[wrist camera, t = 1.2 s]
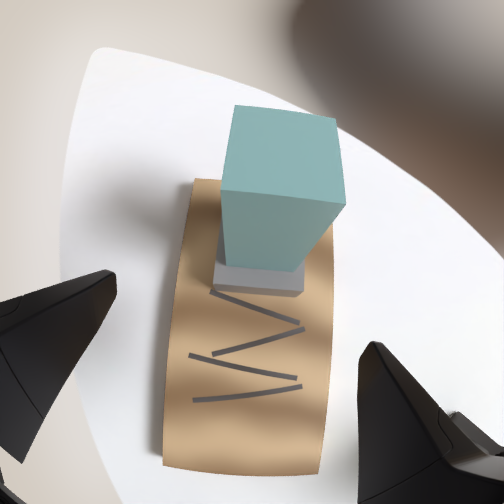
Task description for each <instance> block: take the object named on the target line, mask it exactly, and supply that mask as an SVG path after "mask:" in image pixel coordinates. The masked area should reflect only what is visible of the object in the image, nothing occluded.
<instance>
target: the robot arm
mask: <svg viewBox="0 0 504 504" xmlns="http://www.w3.org/2000/svg"><path fill="white" fill-rule="evenodd" d="M116 295H117V284H116V274H115V273H114V272H112V271H109V270H101V271H98V272H95V273H91V274H88V275H85V276H81V277H78V278H75V279H72V280H69V281H65V282H62V283H59V284H56V285H53V286H50V287H47V288H43V289H40V290H37V291H34V292H31V293H28V294H25V295H24V296H19V297H16V298H13V299H10V300H6V301H3V302H0V446H1V447H2V448H3V449H4V450H5V451H7V452H8V453H9V454H10V455H11V456H13V457H14V458H15V459H16V460H17V461H19V462H20V463H21V464H22V463H23V461H24V459H25V457H26V455H27V453H28V451H29V449H30V447H31V445H32V443H33V441H34V439H35V436H36V435H37V433H38V431H39V429H40V427H41V425H42V423H43V421H44V419H45V417H46V415H47V413H48V412H49V410H50V408H51V406H52V404H53V403H54V401H55V399H56V397H57V396H58V394H59V392H60V390H61V389H62V387H63V385H64V383H65V382H66V380H67V379H68V377H69V375H70V374H71V372H72V370H73V369H74V367H75V365H76V364H77V362H78V361H79V359H80V357H81V356H82V354H83V353H84V351H85V350H86V348H87V347H88V345H89V344H90V342H91V341H92V339H93V337H94V336H95V334H96V333H97V331H98V330H99V328H100V326H101V324H102V322H103V320H104V318H105V317H106V315H107V313H108V311H109V309H110V307H111V305H112V304H113V302H114V300H115V298H116ZM357 409H358V436H359V476H358V501H357V504H504V457H499V456H492V455H489V454H487V453H485V452H483V451H482V450H481V449H480V448H479V447H478V446H477V445H476V444H475V443H474V442H473V441H472V440H471V439H470V438H469V437H468V436H467V435H466V434H465V433H464V432H463V431H462V430H461V429H460V428H459V427H458V426H457V425H456V424H455V423H454V422H453V421H452V420H451V419H450V418H449V417H448V415H447V414H446V413H445V412H444V411H443V410H442V409H441V407H439V405H438V404H437V403H436V402H435V401H434V399H433V398H432V397H431V396H430V395H429V394H428V393H427V392H426V390H425V389H424V388H423V387H422V386H421V385H420V384H419V383H418V382H417V380H416V379H415V378H414V377H413V376H412V375H411V374H410V373H409V372H408V370H407V369H406V368H405V367H404V366H403V365H402V364H401V363H400V362H399V361H398V360H397V358H396V357H395V356H394V355H393V354H392V353H391V352H390V351H389V350H388V349H387V348H386V347H385V346H384V344H383V343H381V342H376V341H371V342H370V343H369V344H368V346H367V347H366V349H365V350H364V352H363V353H362V355H361V356H360V359H359V363H358V390H357ZM0 504H26V503H25V502H24V501H22V500H21V499H20V498H19V497H17V496H16V495H15V494H14V493H12V492H11V491H10V490H9V489H8V488H7V487H6V486H4V480H3V476H2V473H1V469H0Z"/></svg>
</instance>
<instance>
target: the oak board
mask: <svg viewBox="0 0 504 504" xmlns="http://www.w3.org/2000/svg"><path fill="white" fill-rule="evenodd" d="M221 182H222V180H213V179H198V178H195V180H194V185H193V190H192V194H191V199H190V205H189V210H188V215H187V220H186V226H185V231H184V237H183V243H182V249H181V255H180V261H179V268H178V274H177V281H176V288H175V296H174V303H173V311H172V320H171V329H170V338H169V348H168V359H167V371H166V384H165V400H164V421H163V466H168V467H173V468H179V469H185V470H191V471H198V472H206V473H215V474H226V475H241V476H297V475H312V474H318V470H319V465H320V458H321V452H322V445H323V438H324V430H325V422H326V413H327V404H328V394H329V383H330V370H331V355H332V335H333V303H334V256H333V223H332V224H331V225H330V226H329V228H328V229H327V230H326V232H325V233H324V234H323V235H322V237H321V238H320V239H319V241H318V242H317V243H316V245H315V246H314V247H313V248H312V250H311V251H310V252H309V253H308V255H307V256H306V257H305V277H304V292H302V293H301V294H300V295H299V296H297V297H296V298H295V297H282V296H269V295H257V294H245V293H234V292H224V291H215V288H214V285H213V278H214V269H215V261H216V253H217V245H218V237H219V229H220V222H221V215H222V206H221V192H220V189H221Z"/></svg>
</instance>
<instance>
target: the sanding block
mask: <svg viewBox="0 0 504 504" xmlns="http://www.w3.org/2000/svg"><path fill="white" fill-rule="evenodd" d="M220 192H221V206H222V215H221V222H220V229H219V237H218V245H217V253H216V261H215V269H214V278H213V285H214V288H215V291H224V292H234V293H245V294H257V295H269V296H282V297H295V298H296V297H297V296H299V295H300V294H301V293H302V292H304V277H305V257H306V256H307V255H308V253H309V252H310V251H311V250H312V248H313V247H314V246H315V245H316V243H317V242H318V241H319V239H320V238H321V237H322V235H323V234H324V233H325V232H326V230H327V229H328V228H329V226H330V225H331V224H332V222H333V221H334V220H335V218H336V217H337V216H338V214H339V213H340V212H341V210H342V209H343V208H344V206H345V205H346V198H345V188H344V178H343V169H342V161H341V153H340V146H339V139H338V132H337V125H336V119H333V118H328V117H323V116H318V115H312V114H306V113H300V112H294V111H287V110H279V109H271V108H262V107H252V106H240V105H235V108H234V113H233V118H232V124H231V129H230V135H229V140H228V146H227V152H226V158H225V164H224V170H223V176H222V182H221V189H220Z"/></svg>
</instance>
